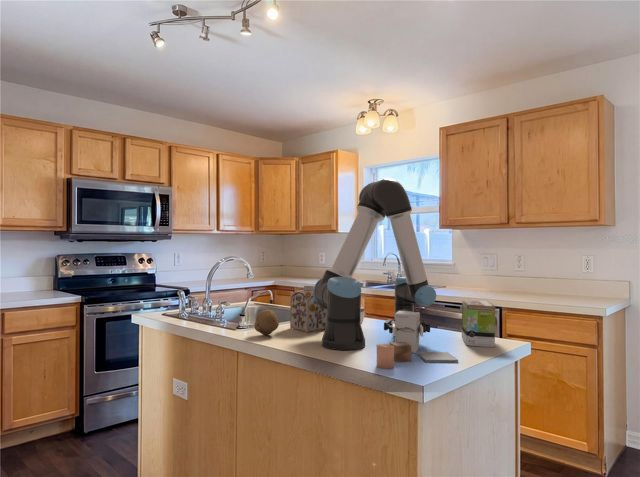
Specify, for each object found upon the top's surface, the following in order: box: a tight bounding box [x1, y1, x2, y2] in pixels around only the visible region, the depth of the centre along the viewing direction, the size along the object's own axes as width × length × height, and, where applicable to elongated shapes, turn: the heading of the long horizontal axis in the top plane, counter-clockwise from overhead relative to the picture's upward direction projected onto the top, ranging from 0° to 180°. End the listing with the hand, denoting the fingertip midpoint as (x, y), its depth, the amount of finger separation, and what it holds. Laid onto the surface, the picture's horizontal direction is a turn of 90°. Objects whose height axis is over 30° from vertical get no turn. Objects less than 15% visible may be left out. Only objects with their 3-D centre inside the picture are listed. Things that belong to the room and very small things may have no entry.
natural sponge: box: [254, 309, 280, 336], centre depth 171 cm, size 9×9×10 cm
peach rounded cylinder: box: [376, 343, 395, 370], centre depth 129 cm, size 5×5×6 cm
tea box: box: [461, 299, 496, 348], centre depth 164 cm, size 15×10×15 cm, turn 168°
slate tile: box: [416, 351, 459, 364], centre depth 139 cm, size 10×10×1 cm
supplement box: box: [394, 311, 421, 354], centre depth 150 cm, size 7×7×13 cm
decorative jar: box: [289, 285, 327, 333], centre depth 187 cm, size 12×12×18 cm
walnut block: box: [389, 341, 412, 363], centre depth 137 cm, size 5×5×5 cm
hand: (407, 331), depth 146 cm, fingers closed on supplement box, 8 cm apart
